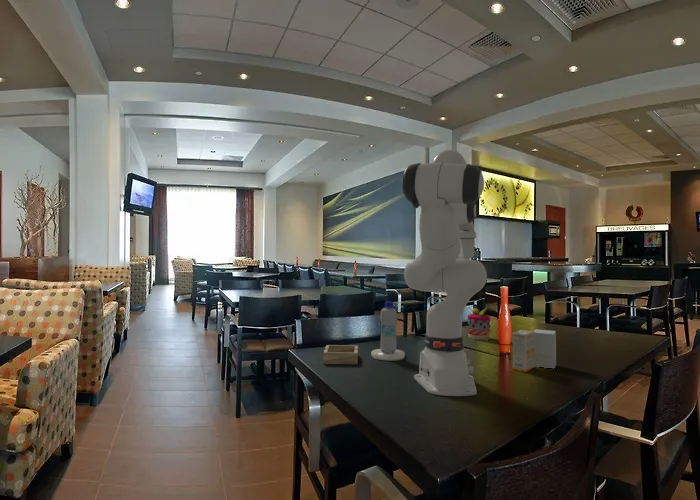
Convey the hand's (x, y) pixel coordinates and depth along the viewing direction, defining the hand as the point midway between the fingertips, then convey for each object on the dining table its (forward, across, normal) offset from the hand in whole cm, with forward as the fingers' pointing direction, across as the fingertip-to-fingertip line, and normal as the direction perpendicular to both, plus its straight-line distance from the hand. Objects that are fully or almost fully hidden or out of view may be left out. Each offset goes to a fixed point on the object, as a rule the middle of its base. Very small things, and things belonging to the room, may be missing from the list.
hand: (461, 270), depth 155 cm
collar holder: (+34, +4, -46) cm, 57 cm away
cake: (+34, -39, +18) cm, 55 cm away
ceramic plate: (+34, -2, -28) cm, 44 cm away
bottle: (+33, -2, -28) cm, 43 cm away
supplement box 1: (+34, +12, +19) cm, 41 cm away
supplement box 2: (+34, +8, +28) cm, 45 cm away
